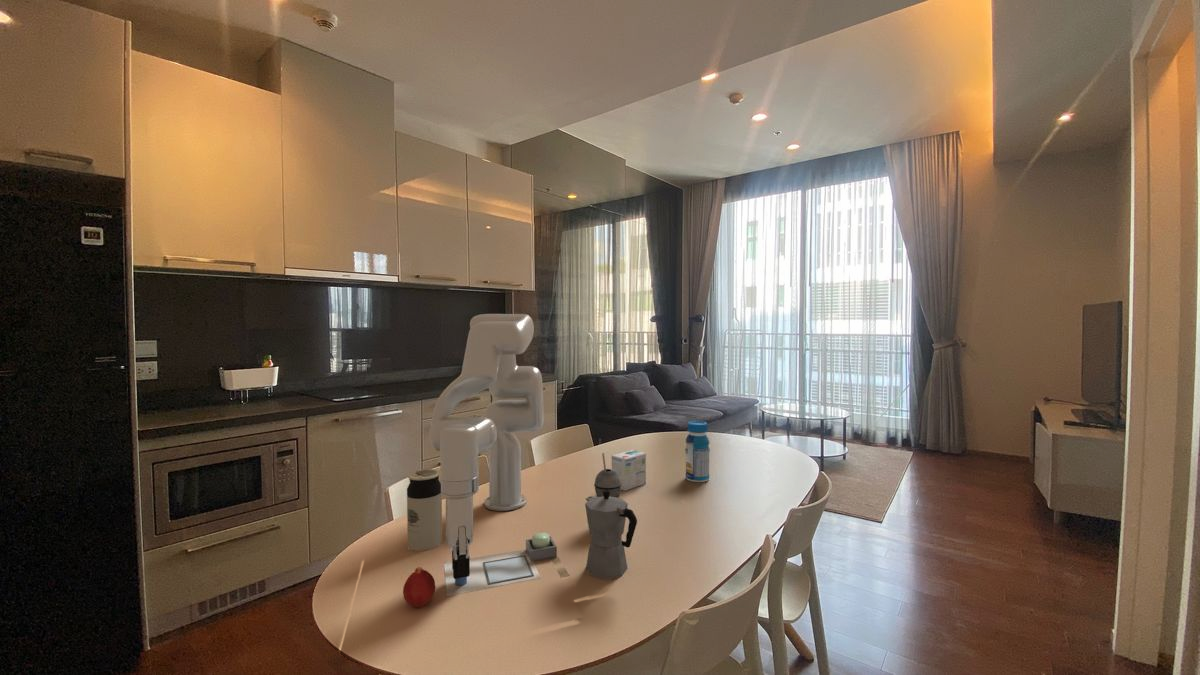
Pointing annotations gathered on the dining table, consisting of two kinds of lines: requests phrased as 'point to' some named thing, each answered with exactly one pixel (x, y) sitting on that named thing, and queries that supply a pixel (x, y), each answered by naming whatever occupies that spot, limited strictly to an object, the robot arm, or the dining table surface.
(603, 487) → the beverage cup
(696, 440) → the beverage bottle
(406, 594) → the onion
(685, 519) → the dining table surface
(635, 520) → the coffeepot
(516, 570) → the clipboard
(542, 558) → the button housing
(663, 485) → the dining table surface
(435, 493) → the travel mug
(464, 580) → the marker
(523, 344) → the robot arm
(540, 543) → the button
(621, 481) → the light bulb box
